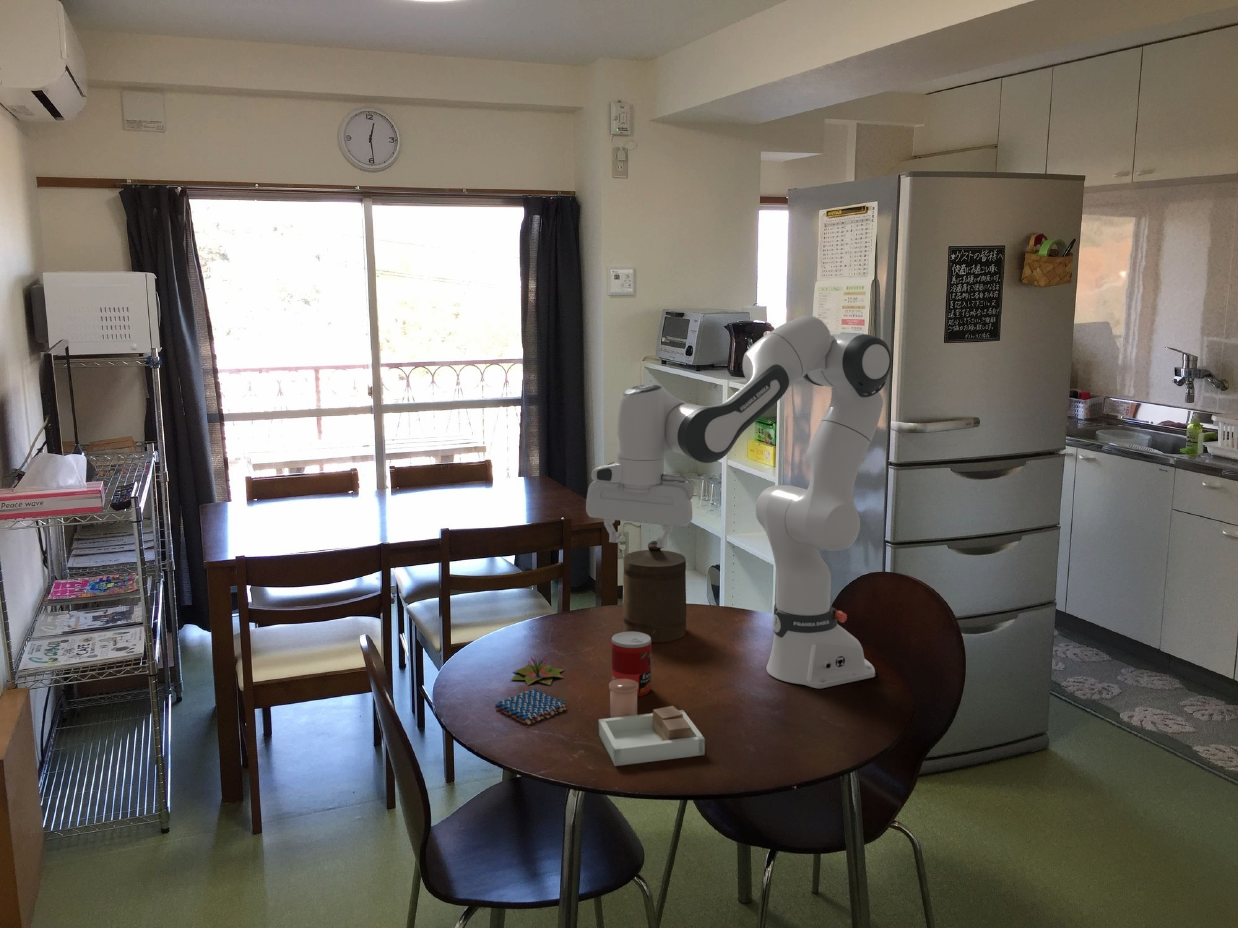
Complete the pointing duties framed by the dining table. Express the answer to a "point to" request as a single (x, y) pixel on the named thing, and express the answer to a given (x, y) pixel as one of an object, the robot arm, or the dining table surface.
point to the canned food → (632, 659)
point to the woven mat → (530, 706)
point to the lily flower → (537, 672)
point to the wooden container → (655, 593)
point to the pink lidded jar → (623, 698)
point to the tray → (645, 740)
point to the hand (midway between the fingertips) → (637, 544)
